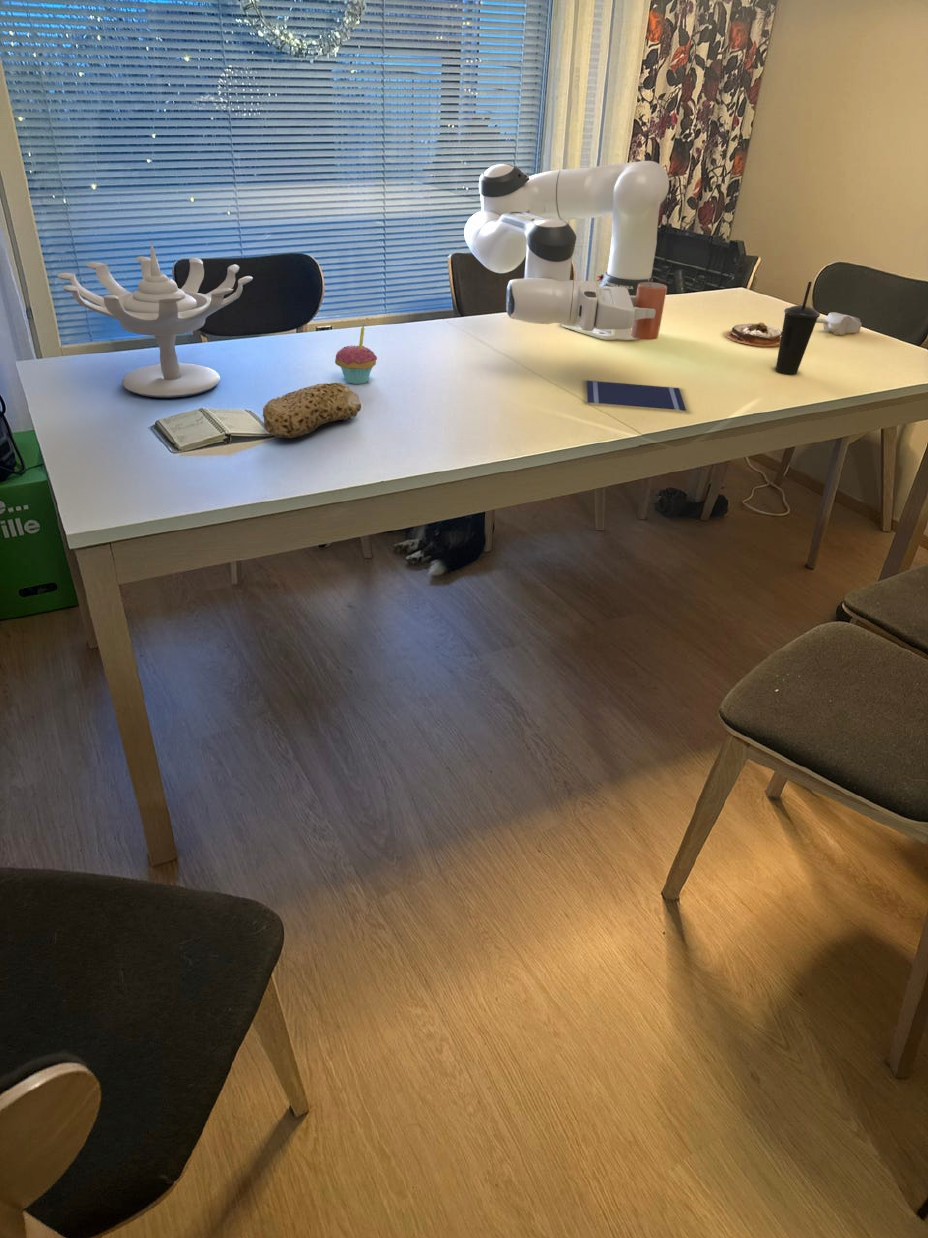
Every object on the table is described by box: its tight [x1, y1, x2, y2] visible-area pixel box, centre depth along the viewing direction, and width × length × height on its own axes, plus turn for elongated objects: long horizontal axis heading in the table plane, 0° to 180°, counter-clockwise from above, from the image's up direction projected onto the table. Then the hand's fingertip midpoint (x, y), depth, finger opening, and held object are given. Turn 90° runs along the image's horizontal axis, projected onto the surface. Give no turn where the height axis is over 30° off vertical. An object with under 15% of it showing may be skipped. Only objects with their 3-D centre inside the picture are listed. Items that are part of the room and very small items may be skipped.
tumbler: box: [630, 281, 668, 341], centre depth 170 cm, size 6×6×10 cm
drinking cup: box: [775, 281, 821, 376], centre depth 190 cm, size 8×8×20 cm
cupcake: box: [334, 323, 378, 385], centre depth 172 cm, size 9×8×12 cm
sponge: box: [262, 382, 362, 439], centre depth 151 cm, size 13×8×20 cm
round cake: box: [725, 322, 782, 347], centre depth 217 cm, size 15×15×4 cm
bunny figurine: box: [815, 311, 863, 336], centre depth 226 cm, size 10×5×15 cm
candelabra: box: [56, 241, 254, 399], centre depth 161 cm, size 34×35×27 cm
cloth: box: [586, 380, 687, 412], centre depth 176 cm, size 20×14×1 cm
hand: (653, 308), depth 170 cm, fingers closed on tumbler, 6 cm apart
